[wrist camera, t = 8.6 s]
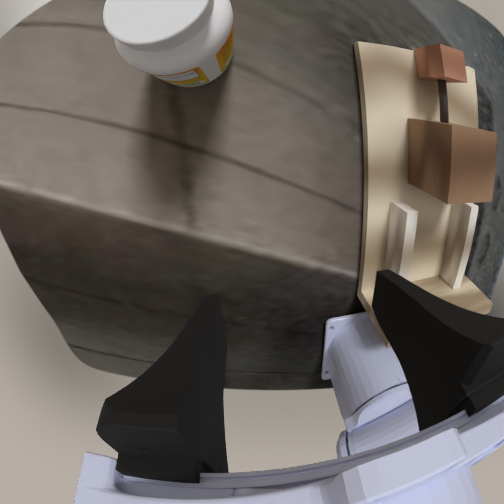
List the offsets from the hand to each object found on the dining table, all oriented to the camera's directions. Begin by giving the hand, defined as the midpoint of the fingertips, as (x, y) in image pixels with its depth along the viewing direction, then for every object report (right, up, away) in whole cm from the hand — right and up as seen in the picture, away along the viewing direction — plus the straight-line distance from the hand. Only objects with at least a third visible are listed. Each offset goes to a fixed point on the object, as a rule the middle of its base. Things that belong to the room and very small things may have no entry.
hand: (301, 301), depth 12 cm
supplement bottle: (-6, +15, +2) cm, 17 cm away
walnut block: (+11, +12, +4) cm, 17 cm away
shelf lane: (+12, +8, +7) cm, 16 cm away
